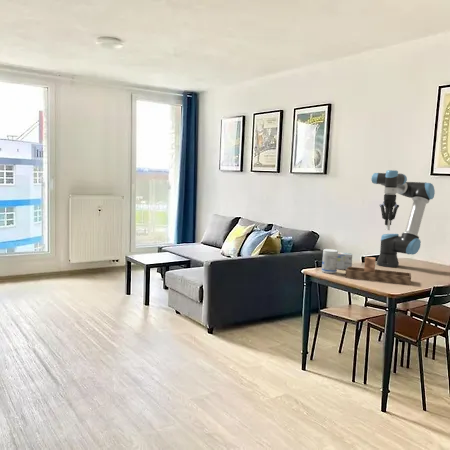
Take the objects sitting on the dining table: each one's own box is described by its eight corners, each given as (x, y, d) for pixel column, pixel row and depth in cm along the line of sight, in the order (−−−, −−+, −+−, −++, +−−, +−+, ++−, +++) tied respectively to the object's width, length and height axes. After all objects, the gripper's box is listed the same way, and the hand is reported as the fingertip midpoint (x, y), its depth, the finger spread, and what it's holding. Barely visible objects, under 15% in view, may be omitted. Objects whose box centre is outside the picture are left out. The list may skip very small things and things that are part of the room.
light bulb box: (350, 268, 330) (351, 252, 329) (351, 270, 323) (352, 254, 322) (334, 267, 331) (335, 252, 330) (335, 269, 324) (336, 253, 323)
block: (374, 273, 301) (375, 257, 300) (373, 275, 295) (375, 259, 294) (364, 272, 303) (365, 256, 302) (363, 273, 297) (365, 258, 296)
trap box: (410, 280, 297) (410, 273, 296) (410, 284, 285) (411, 276, 285) (347, 274, 310) (348, 266, 309) (345, 277, 298) (346, 269, 298)
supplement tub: (319, 270, 317) (321, 248, 316) (333, 270, 318) (335, 249, 317) (324, 273, 308) (325, 251, 306) (338, 274, 309) (340, 251, 307)
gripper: (383, 194, 305) (381, 230, 308) (402, 194, 308) (399, 230, 310) (378, 193, 313) (375, 229, 315) (396, 194, 315) (393, 229, 318)
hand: (387, 230), depth 313 cm, fingers closed
